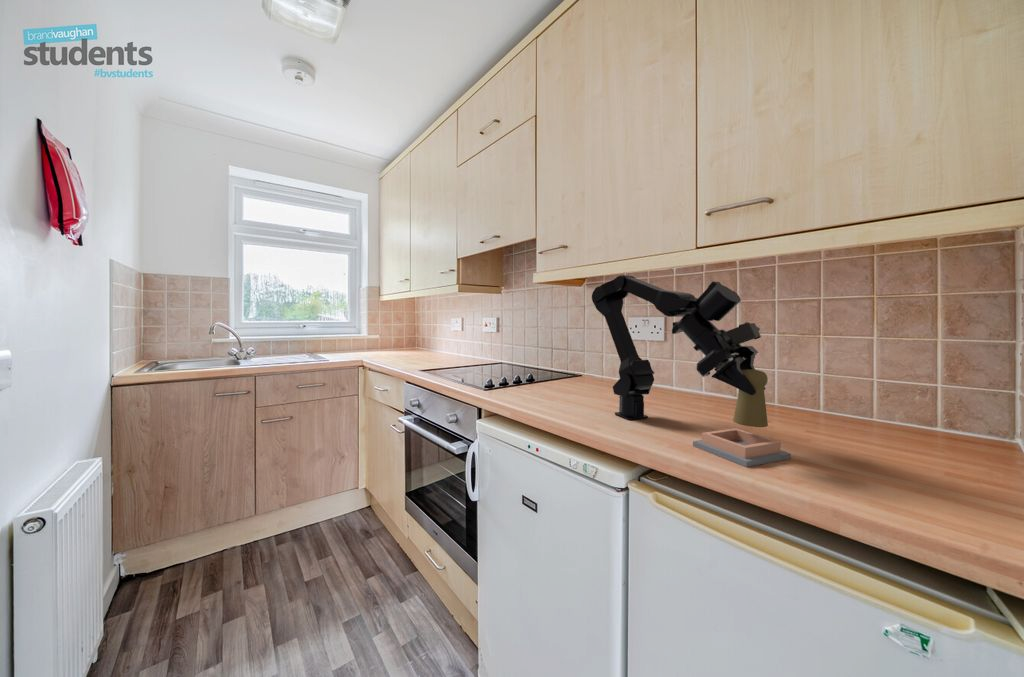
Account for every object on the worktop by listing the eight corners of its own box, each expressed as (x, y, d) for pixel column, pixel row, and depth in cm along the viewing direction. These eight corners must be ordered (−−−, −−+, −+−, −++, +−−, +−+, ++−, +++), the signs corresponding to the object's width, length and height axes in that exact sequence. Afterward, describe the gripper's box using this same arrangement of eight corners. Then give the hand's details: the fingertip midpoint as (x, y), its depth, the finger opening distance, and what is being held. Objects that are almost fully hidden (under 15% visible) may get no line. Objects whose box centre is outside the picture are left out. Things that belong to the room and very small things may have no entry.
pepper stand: (692, 445, 78) (693, 431, 78) (733, 439, 82) (734, 426, 82) (746, 467, 67) (746, 450, 67) (790, 458, 71) (791, 443, 71)
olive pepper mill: (726, 418, 79) (728, 367, 78) (755, 418, 78) (757, 367, 78) (744, 427, 72) (746, 372, 72) (775, 427, 72) (777, 372, 72)
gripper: (715, 308, 71) (780, 372, 63) (749, 310, 83) (808, 363, 75) (674, 346, 78) (728, 407, 70) (711, 342, 90) (761, 394, 82)
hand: (759, 392), depth 74 cm, fingers closed on olive pepper mill, 5 cm apart
